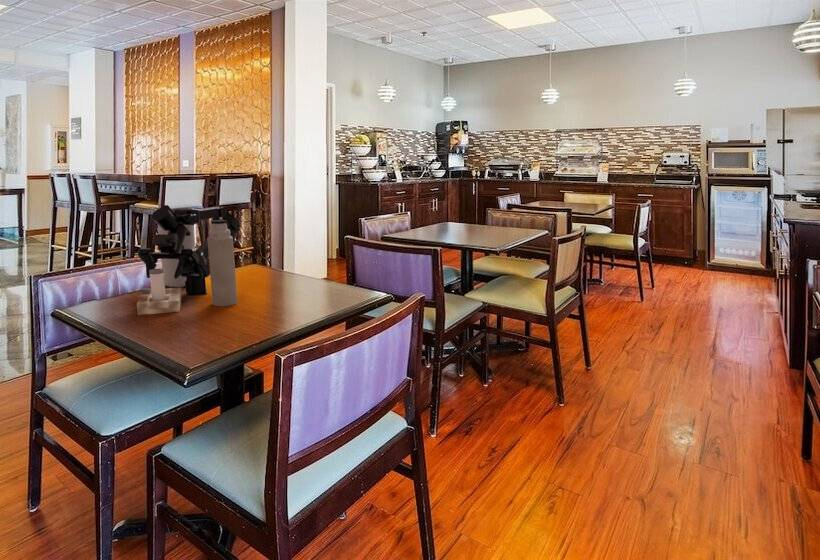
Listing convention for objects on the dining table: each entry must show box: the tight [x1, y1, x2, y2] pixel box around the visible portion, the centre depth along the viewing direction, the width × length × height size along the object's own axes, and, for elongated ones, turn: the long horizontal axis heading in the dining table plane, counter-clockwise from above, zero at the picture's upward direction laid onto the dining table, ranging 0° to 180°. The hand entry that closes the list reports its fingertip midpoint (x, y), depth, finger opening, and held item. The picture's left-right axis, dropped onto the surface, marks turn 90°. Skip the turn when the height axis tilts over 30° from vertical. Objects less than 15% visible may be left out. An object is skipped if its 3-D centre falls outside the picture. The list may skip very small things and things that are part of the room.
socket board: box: [136, 287, 183, 316], centre depth 179 cm, size 12×20×5 cm, turn 20°
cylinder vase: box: [157, 224, 197, 288], centre depth 209 cm, size 12×12×25 cm
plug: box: [149, 268, 166, 302], centre depth 174 cm, size 4×4×13 cm
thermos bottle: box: [206, 220, 238, 307], centre depth 180 cm, size 8×8×28 cm
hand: (161, 277), depth 175 cm, fingers open, 9 cm apart
